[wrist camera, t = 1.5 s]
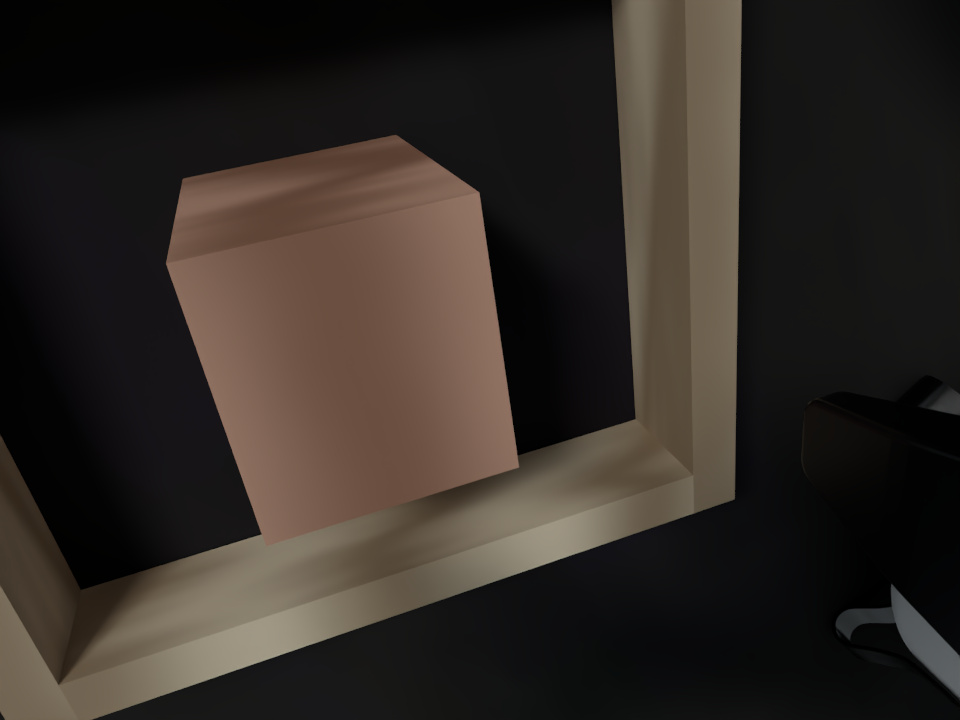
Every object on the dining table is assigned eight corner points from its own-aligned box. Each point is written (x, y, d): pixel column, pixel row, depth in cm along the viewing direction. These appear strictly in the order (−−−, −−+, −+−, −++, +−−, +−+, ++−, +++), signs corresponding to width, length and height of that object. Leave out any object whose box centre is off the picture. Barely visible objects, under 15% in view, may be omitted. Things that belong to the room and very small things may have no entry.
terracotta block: (395, 134, 16) (479, 192, 11) (435, 340, 19) (519, 467, 13) (182, 178, 15) (166, 263, 10) (251, 389, 18) (266, 545, 13)
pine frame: (654, -190, 15) (744, -231, 13) (674, 442, 22) (734, 499, 20) (-354, -66, 12) (-519, -88, 9) (48, 641, 19) (21, 743, 16)
